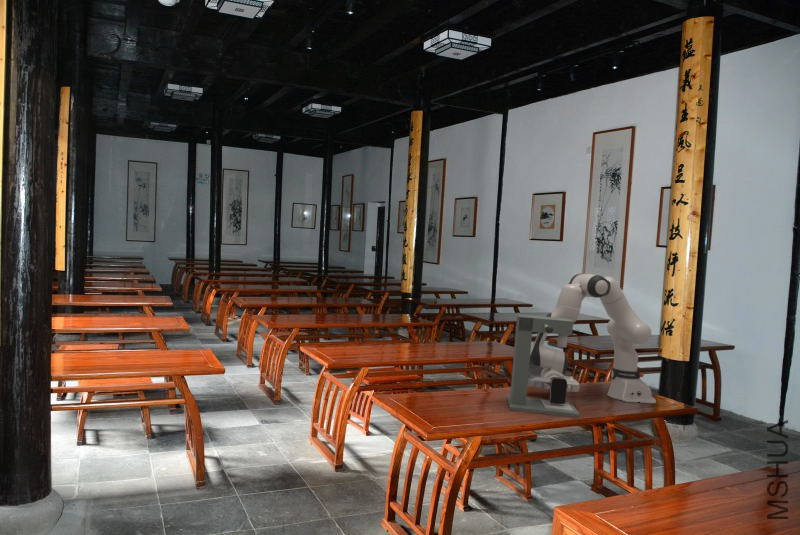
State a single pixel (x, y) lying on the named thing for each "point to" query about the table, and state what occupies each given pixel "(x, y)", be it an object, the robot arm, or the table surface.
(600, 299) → the robot arm
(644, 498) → the table surface
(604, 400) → the table surface
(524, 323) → the press
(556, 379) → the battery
